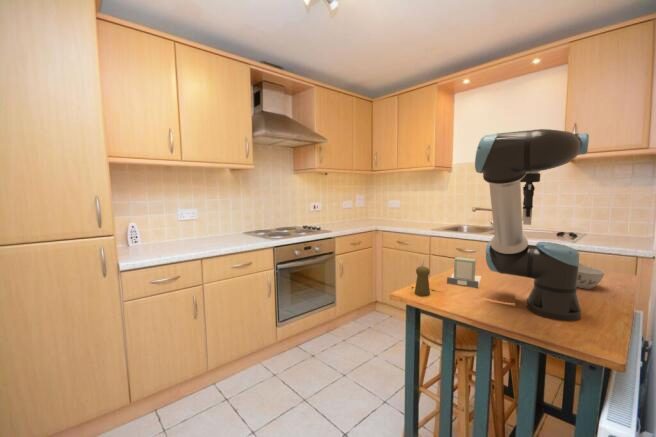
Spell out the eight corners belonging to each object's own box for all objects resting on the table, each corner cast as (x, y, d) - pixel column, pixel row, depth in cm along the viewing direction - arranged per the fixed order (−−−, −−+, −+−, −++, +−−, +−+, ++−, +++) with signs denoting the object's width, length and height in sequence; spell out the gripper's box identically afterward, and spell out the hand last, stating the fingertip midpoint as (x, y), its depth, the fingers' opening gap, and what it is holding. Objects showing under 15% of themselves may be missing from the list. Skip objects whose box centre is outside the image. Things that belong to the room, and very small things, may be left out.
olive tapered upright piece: (429, 291, 124) (430, 265, 123) (430, 297, 119) (431, 269, 117) (414, 290, 126) (415, 264, 125) (414, 295, 120) (415, 268, 119)
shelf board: (477, 291, 124) (478, 282, 124) (446, 286, 130) (447, 277, 130) (481, 278, 140) (481, 270, 139) (453, 274, 146) (453, 267, 145)
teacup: (601, 294, 119) (603, 274, 118) (561, 286, 128) (563, 268, 127) (603, 284, 130) (605, 266, 129) (567, 278, 138) (568, 261, 138)
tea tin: (453, 281, 133) (454, 259, 132) (455, 278, 137) (456, 256, 135) (473, 284, 129) (474, 261, 128) (474, 281, 133) (475, 259, 131)
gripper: (543, 172, 116) (539, 227, 118) (538, 173, 137) (534, 219, 140) (520, 172, 120) (516, 225, 122) (518, 173, 141) (515, 218, 143)
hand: (526, 222), depth 131 cm, fingers open, 13 cm apart
